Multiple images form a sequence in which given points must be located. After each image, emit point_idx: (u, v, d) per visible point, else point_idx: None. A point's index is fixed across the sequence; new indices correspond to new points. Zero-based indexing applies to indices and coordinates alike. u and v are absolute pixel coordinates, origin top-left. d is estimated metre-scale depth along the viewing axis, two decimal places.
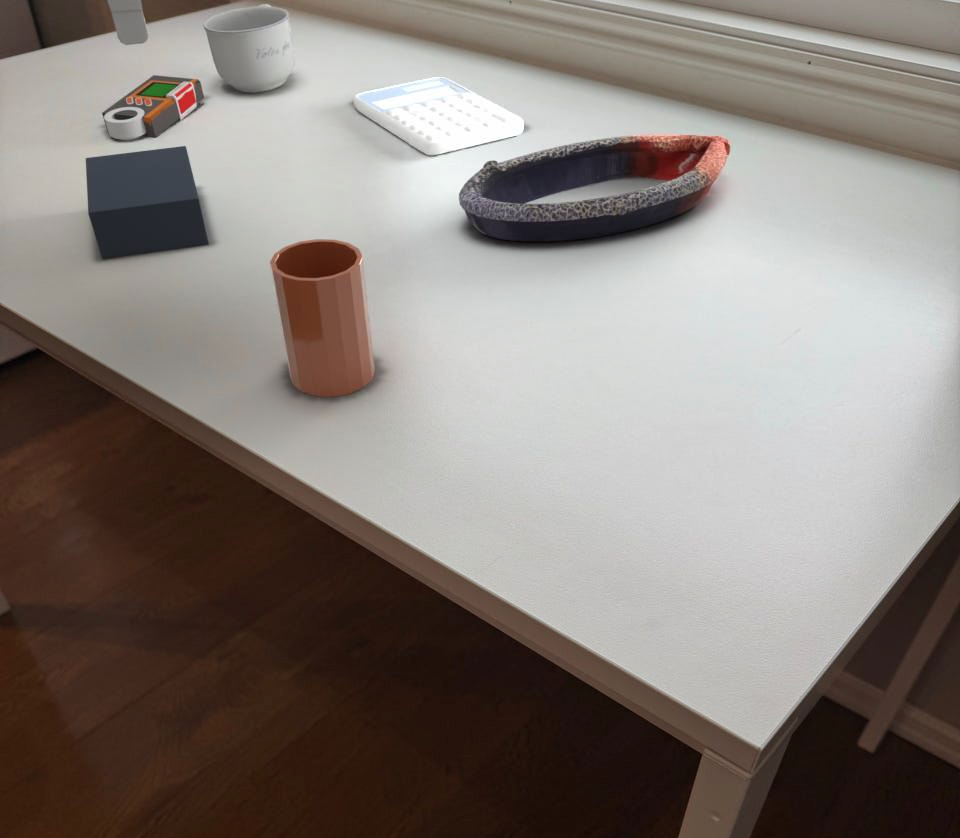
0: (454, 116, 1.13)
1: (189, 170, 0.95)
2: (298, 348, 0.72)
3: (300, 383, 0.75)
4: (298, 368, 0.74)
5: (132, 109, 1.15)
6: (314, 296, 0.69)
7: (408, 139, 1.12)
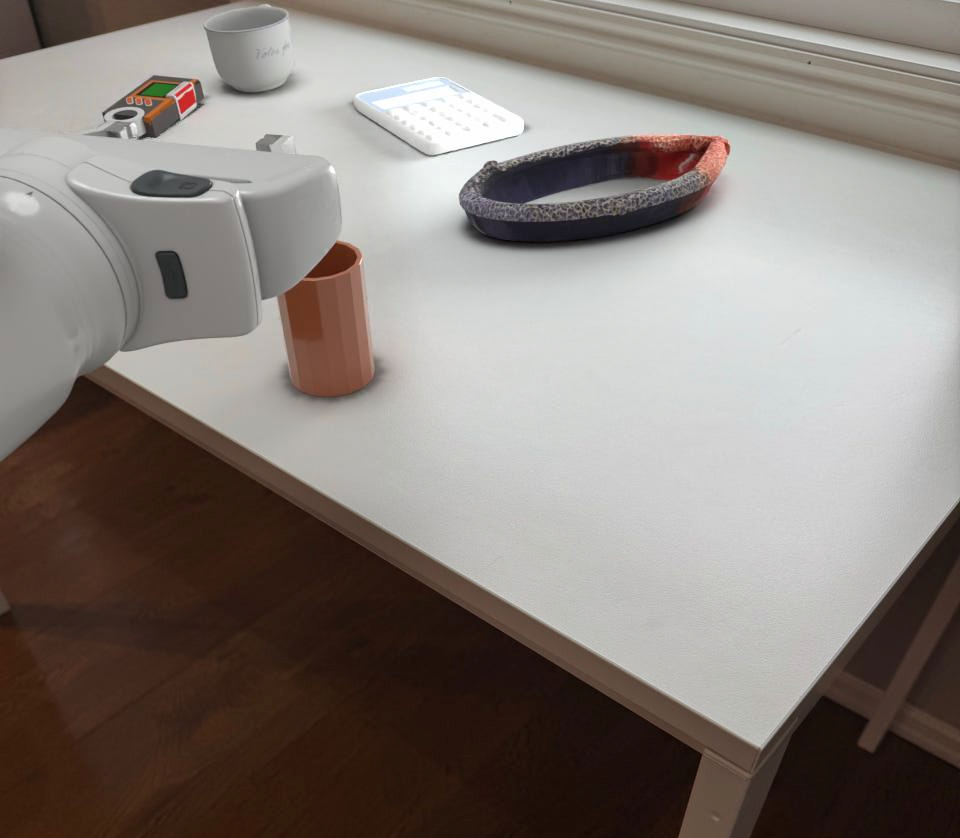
0: (454, 116, 1.13)
1: None
2: (298, 348, 0.72)
3: (300, 383, 0.75)
4: (298, 368, 0.74)
5: (132, 109, 1.15)
6: (314, 296, 0.69)
7: (408, 139, 1.11)
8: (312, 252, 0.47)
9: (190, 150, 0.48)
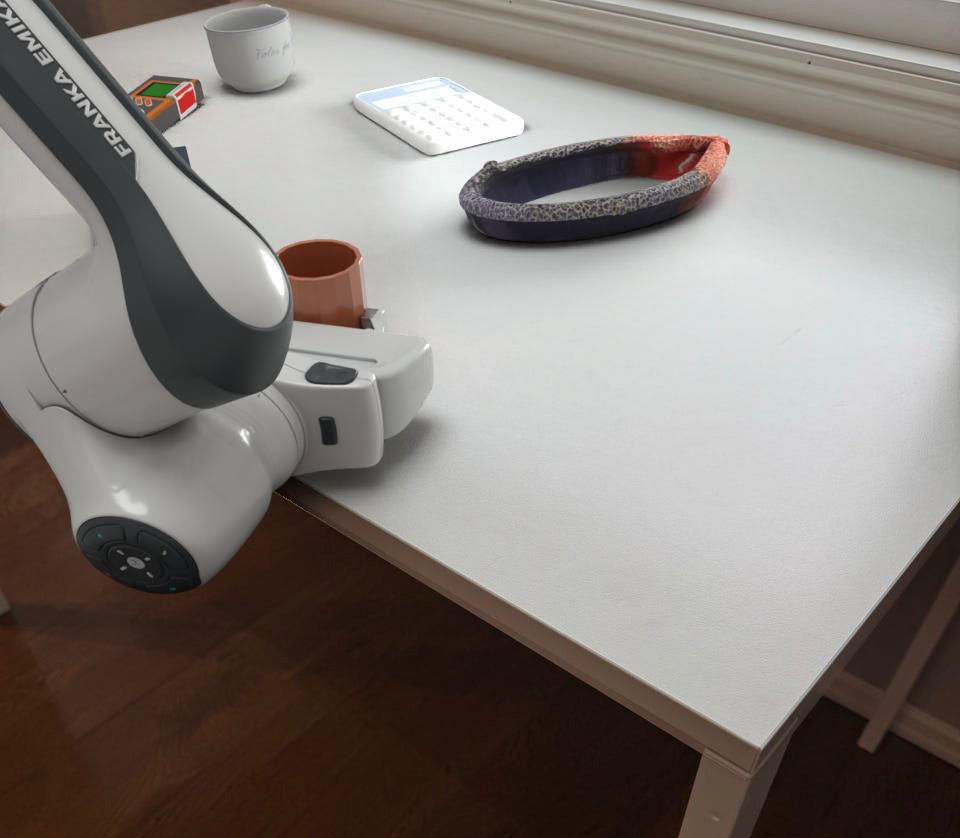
0: (454, 116, 1.13)
1: None
2: None
3: None
4: None
5: None
6: (313, 296, 0.69)
7: (408, 139, 1.11)
8: (415, 405, 0.67)
9: (329, 331, 0.68)
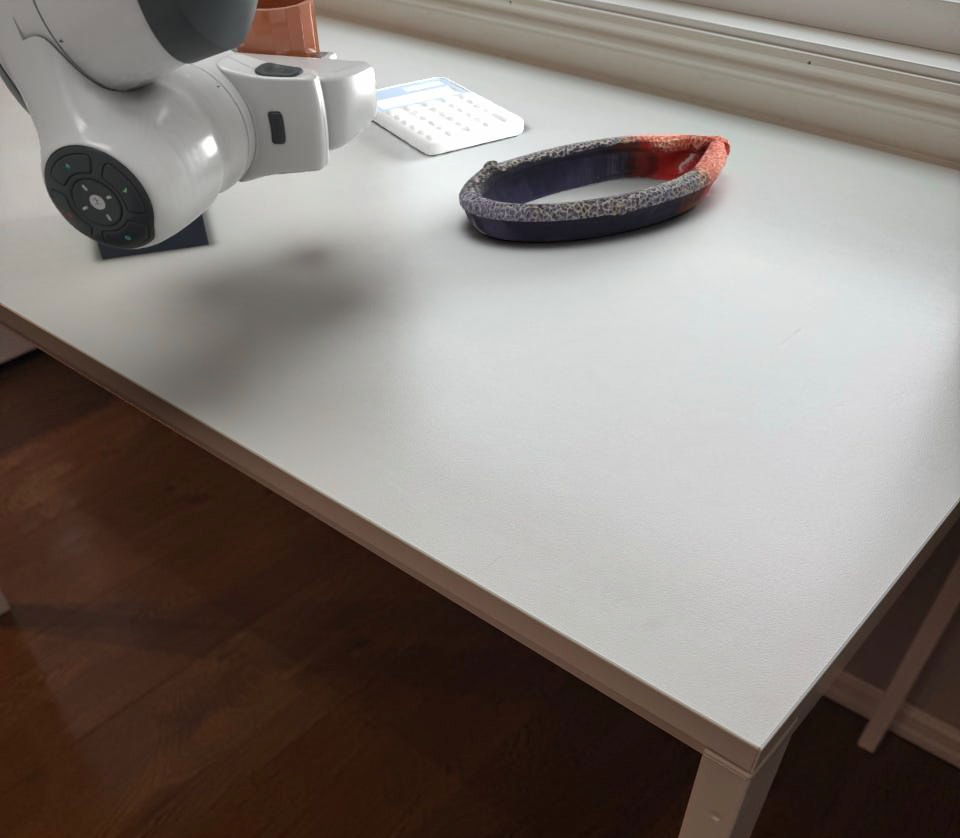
0: (454, 116, 1.13)
1: None
2: None
3: None
4: None
5: None
6: (267, 27, 0.75)
7: (408, 139, 1.11)
8: (359, 121, 0.74)
9: (281, 58, 0.75)
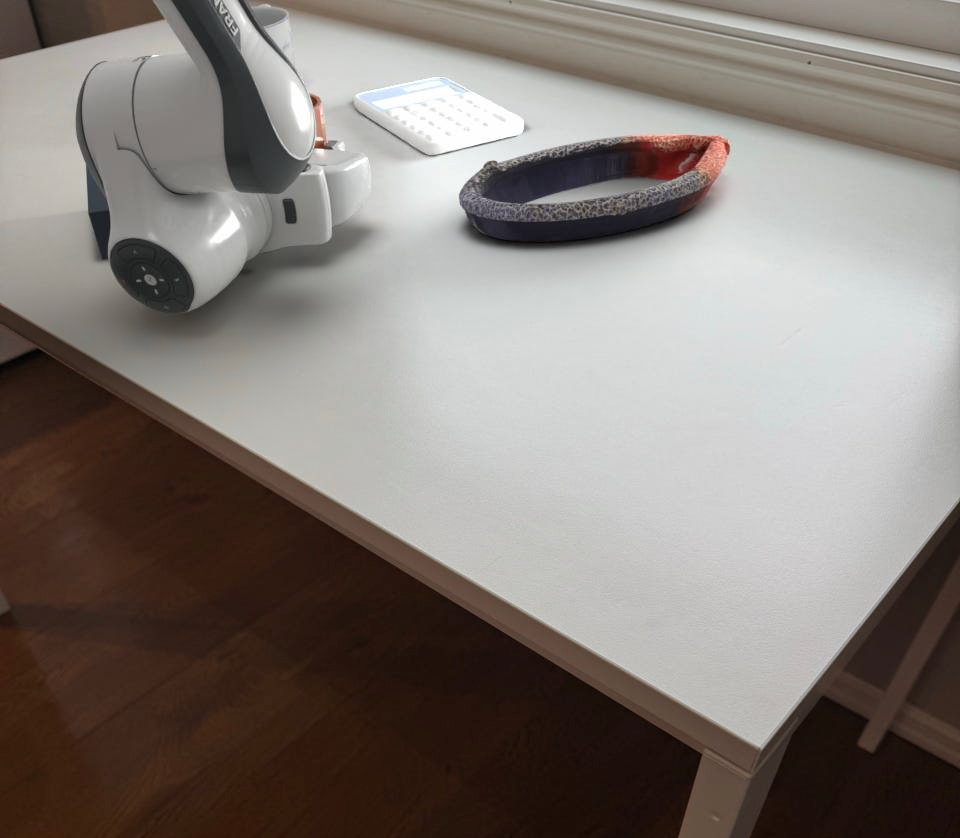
0: (454, 116, 1.13)
1: None
2: None
3: None
4: None
5: None
6: None
7: (408, 139, 1.11)
8: (356, 202, 0.90)
9: None
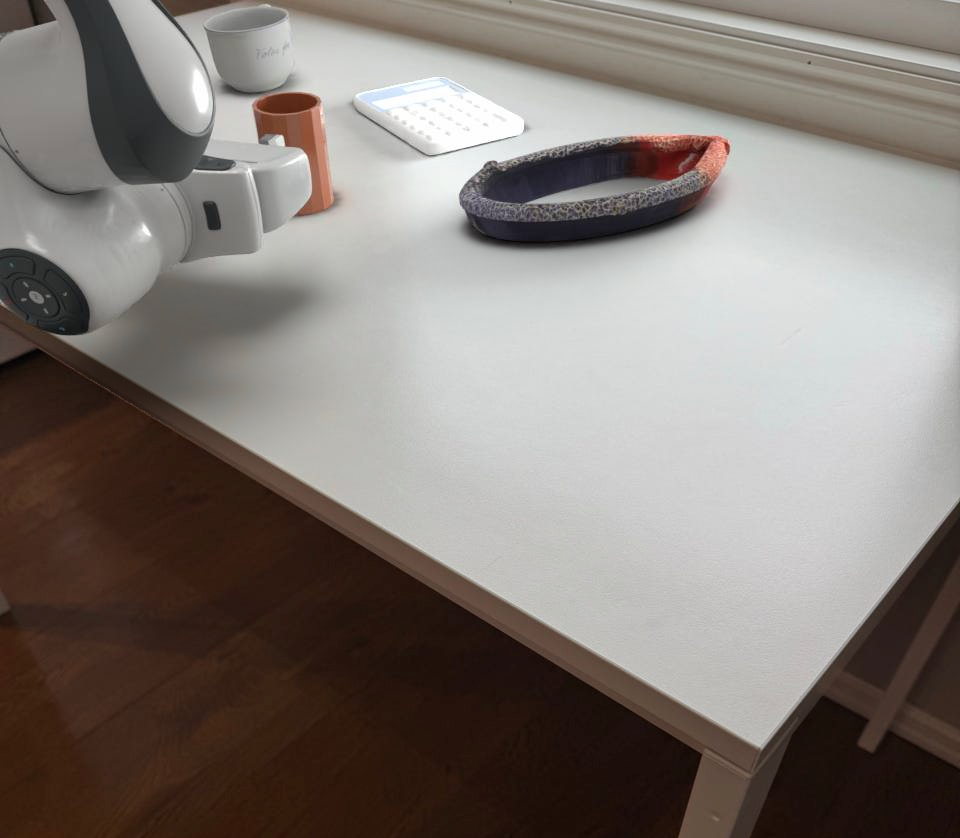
0: (454, 116, 1.13)
1: None
2: None
3: None
4: None
5: None
6: (284, 128, 0.92)
7: (408, 139, 1.11)
8: (293, 205, 0.78)
9: (220, 143, 0.79)
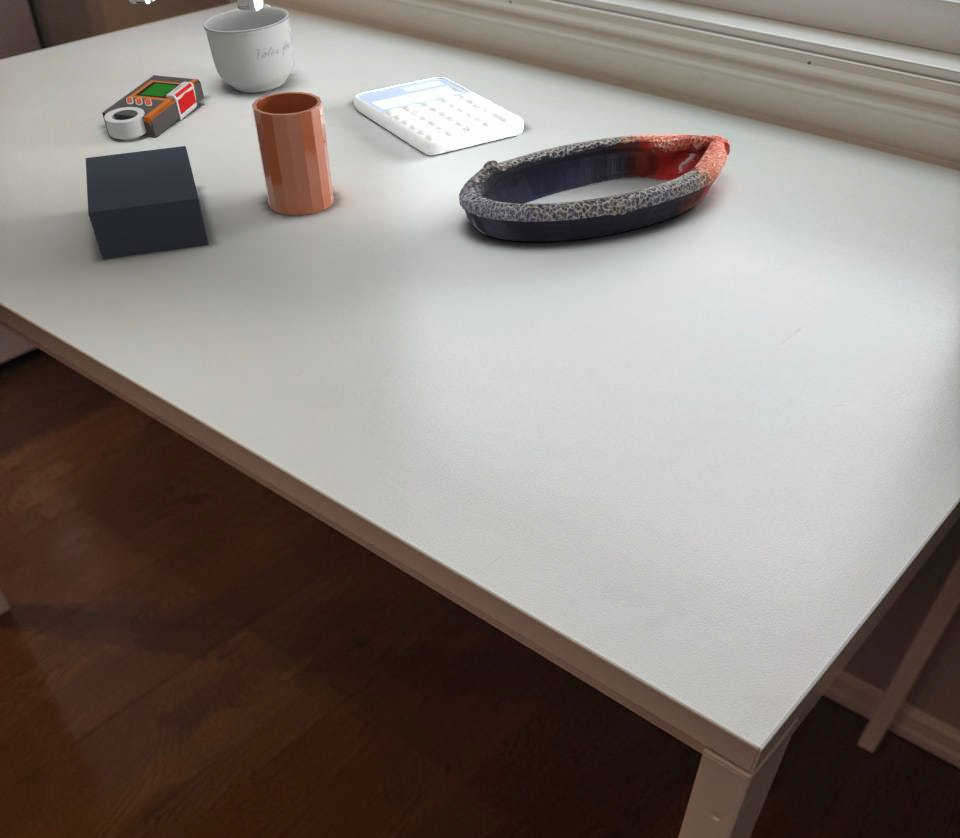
0: (454, 116, 1.13)
1: (189, 170, 0.95)
2: (273, 174, 0.95)
3: (276, 205, 0.98)
4: (274, 191, 0.97)
5: (132, 109, 1.15)
6: (284, 128, 0.92)
7: (408, 139, 1.11)
8: None
9: None
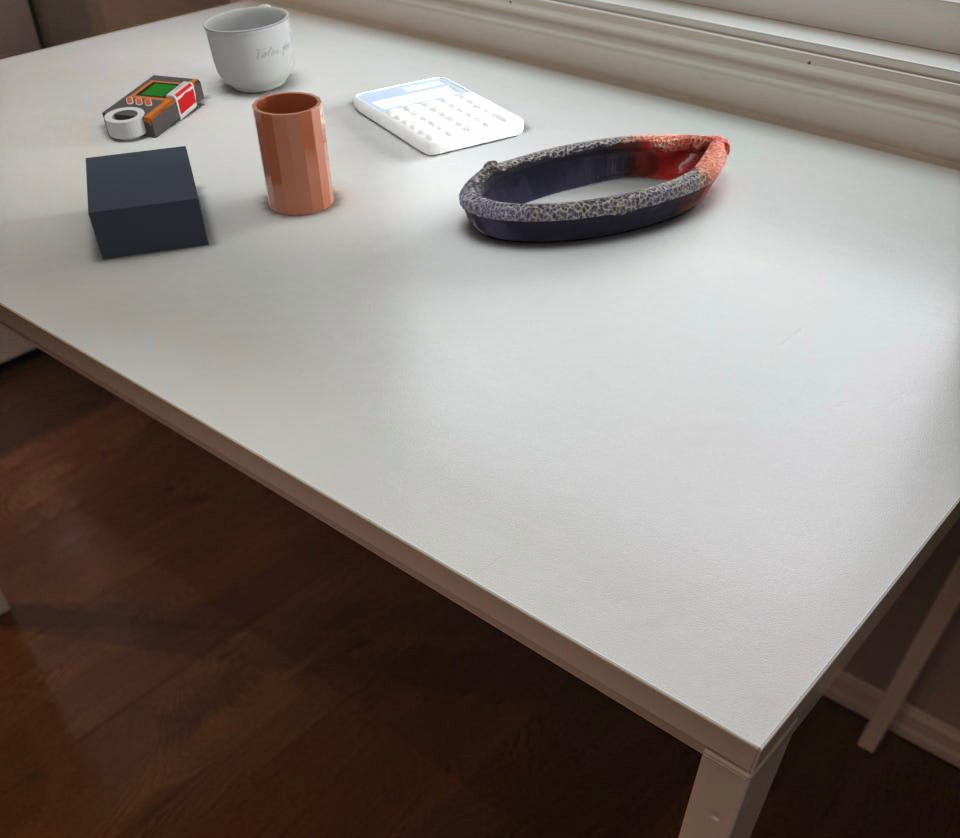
0: (454, 116, 1.13)
1: (189, 170, 0.95)
2: (273, 174, 0.95)
3: (276, 205, 0.98)
4: (274, 191, 0.97)
5: (132, 109, 1.15)
6: (284, 128, 0.92)
7: (408, 139, 1.11)
8: None
9: None
